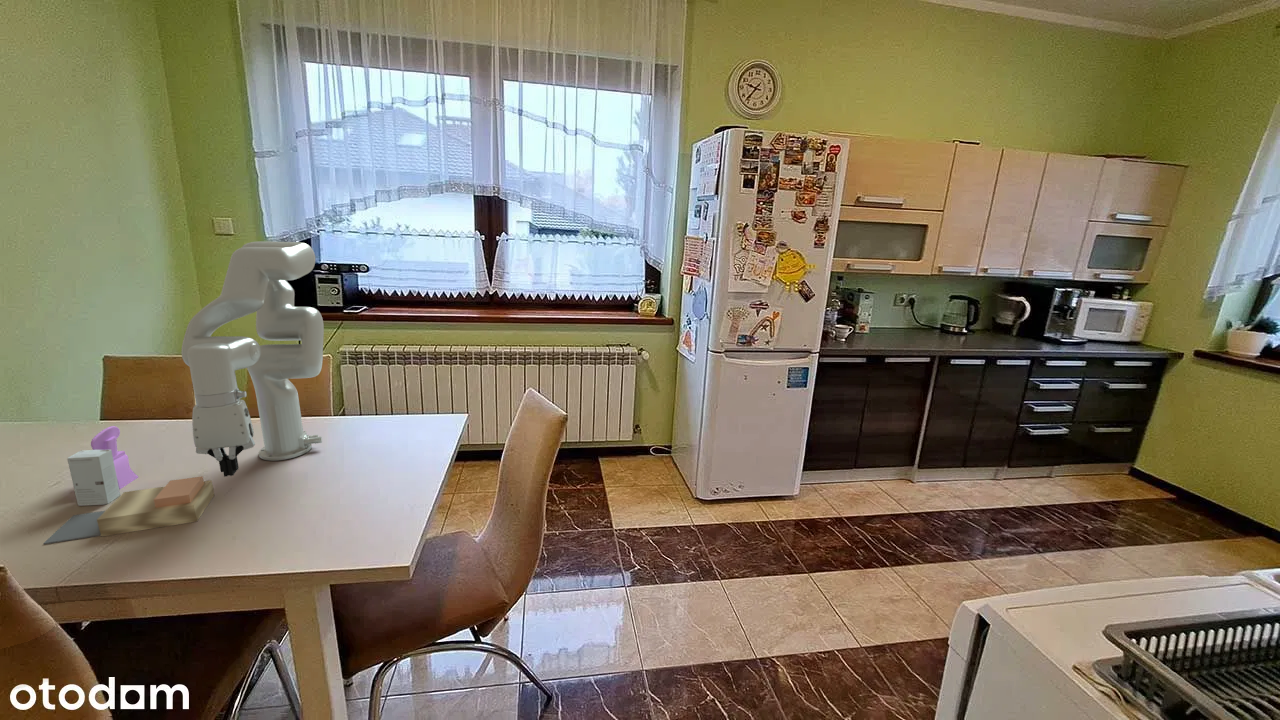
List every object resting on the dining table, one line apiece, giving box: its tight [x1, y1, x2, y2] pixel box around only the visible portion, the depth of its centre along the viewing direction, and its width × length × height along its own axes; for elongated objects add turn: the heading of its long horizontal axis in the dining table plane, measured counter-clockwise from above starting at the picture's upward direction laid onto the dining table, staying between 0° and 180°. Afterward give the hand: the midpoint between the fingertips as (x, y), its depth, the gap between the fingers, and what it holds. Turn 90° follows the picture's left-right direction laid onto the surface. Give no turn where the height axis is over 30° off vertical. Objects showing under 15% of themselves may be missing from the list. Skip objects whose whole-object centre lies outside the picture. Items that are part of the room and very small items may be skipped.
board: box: [97, 480, 215, 537], centre depth 116 cm, size 16×12×4 cm
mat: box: [43, 510, 106, 545], centre depth 111 cm, size 9×11×1 cm
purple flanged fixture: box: [90, 425, 139, 490], centre depth 126 cm, size 8×9×15 cm
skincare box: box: [66, 449, 121, 507], centre depth 119 cm, size 6×4×12 cm
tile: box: [154, 476, 204, 508], centre depth 117 cm, size 6×9×2 cm, turn 24°
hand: (230, 473), depth 119 cm, fingers closed
